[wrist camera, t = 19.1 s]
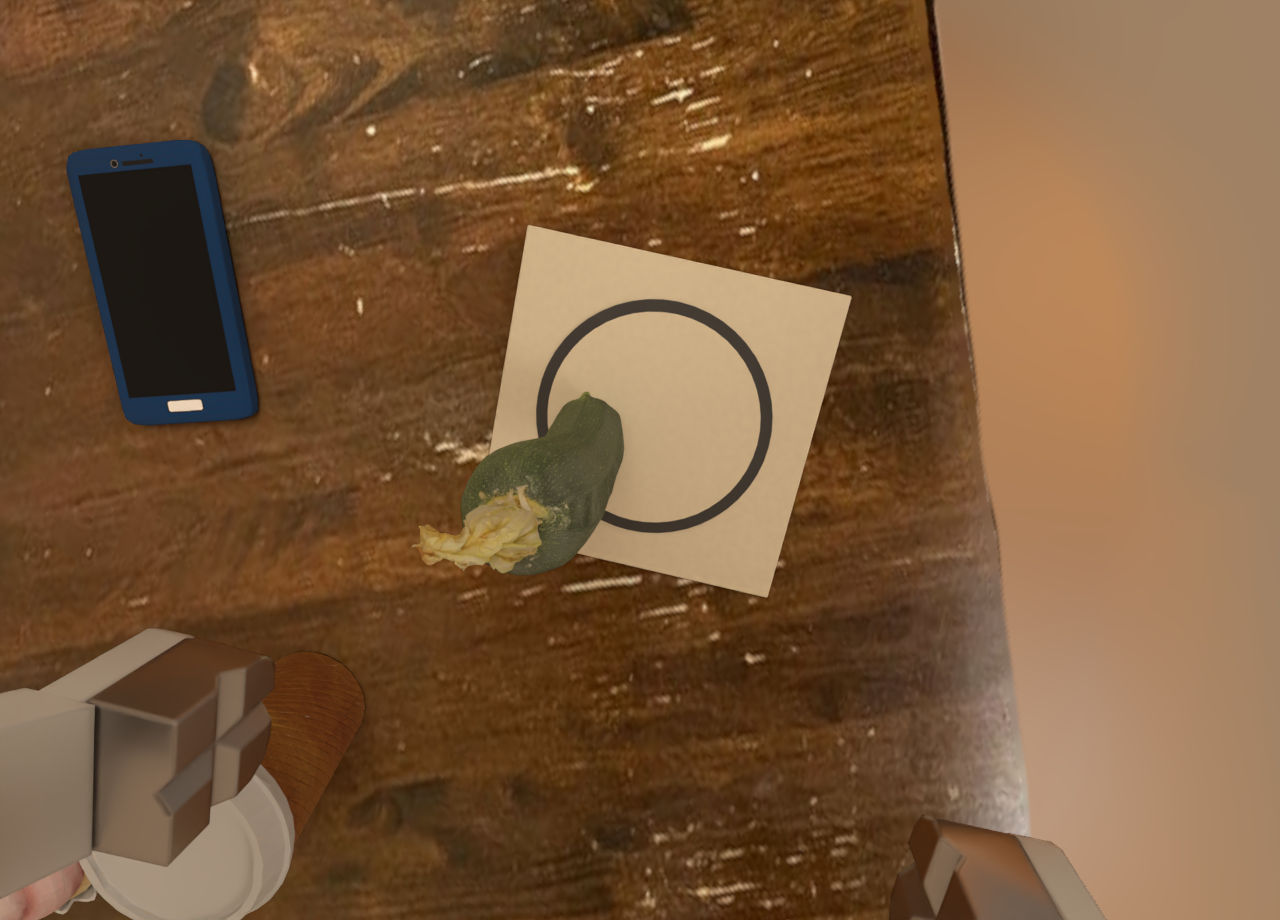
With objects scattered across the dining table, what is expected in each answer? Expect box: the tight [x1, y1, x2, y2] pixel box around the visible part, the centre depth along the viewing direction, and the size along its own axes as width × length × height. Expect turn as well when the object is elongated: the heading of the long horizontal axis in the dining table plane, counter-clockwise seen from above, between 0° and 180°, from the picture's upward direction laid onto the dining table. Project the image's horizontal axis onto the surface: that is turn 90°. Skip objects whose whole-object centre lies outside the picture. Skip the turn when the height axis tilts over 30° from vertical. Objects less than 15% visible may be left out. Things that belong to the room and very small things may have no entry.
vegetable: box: [412, 392, 624, 575], centre depth 27 cm, size 4×4×20 cm
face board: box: [489, 225, 851, 598], centre depth 37 cm, size 16×16×1 cm
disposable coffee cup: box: [79, 652, 365, 920], centre depth 37 cm, size 10×10×12 cm
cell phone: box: [67, 140, 258, 425], centre depth 37 cm, size 7×14×1 cm, turn 5°
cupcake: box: [0, 861, 98, 920], centre depth 40 cm, size 9×9×10 cm
